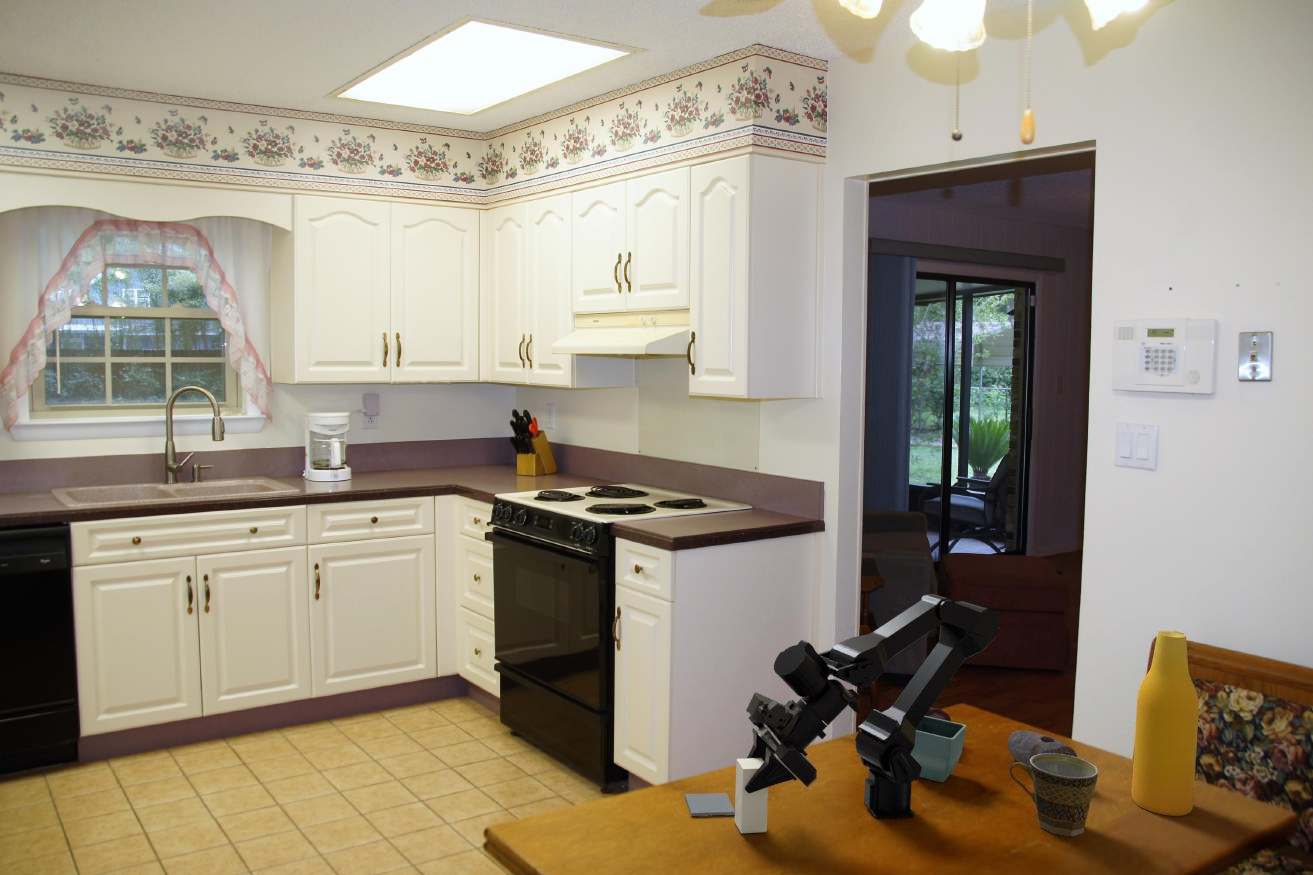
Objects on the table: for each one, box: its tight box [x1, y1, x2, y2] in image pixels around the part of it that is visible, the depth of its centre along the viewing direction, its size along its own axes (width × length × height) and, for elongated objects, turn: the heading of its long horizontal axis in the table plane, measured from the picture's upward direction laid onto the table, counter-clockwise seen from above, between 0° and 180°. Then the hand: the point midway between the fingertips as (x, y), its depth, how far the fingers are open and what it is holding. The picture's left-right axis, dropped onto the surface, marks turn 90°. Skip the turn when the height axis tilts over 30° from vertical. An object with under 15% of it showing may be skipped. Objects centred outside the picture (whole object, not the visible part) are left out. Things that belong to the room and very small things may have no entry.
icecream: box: [925, 707, 953, 722], centre depth 190 cm, size 7×7×15 cm
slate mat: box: [684, 792, 735, 817], centre depth 159 cm, size 7×7×1 cm
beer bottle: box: [1131, 630, 1200, 817], centre depth 163 cm, size 9×9×29 cm
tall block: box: [734, 757, 769, 834], centre depth 151 cm, size 4×4×10 cm
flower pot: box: [910, 716, 967, 783], centre depth 174 cm, size 9×9×9 cm
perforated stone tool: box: [1007, 729, 1078, 767], centre depth 177 cm, size 15×5×7 cm, turn 20°
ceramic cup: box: [1008, 753, 1099, 837], centre depth 155 cm, size 13×10×10 cm
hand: (742, 785), depth 151 cm, fingers closed on tall block, 4 cm apart
